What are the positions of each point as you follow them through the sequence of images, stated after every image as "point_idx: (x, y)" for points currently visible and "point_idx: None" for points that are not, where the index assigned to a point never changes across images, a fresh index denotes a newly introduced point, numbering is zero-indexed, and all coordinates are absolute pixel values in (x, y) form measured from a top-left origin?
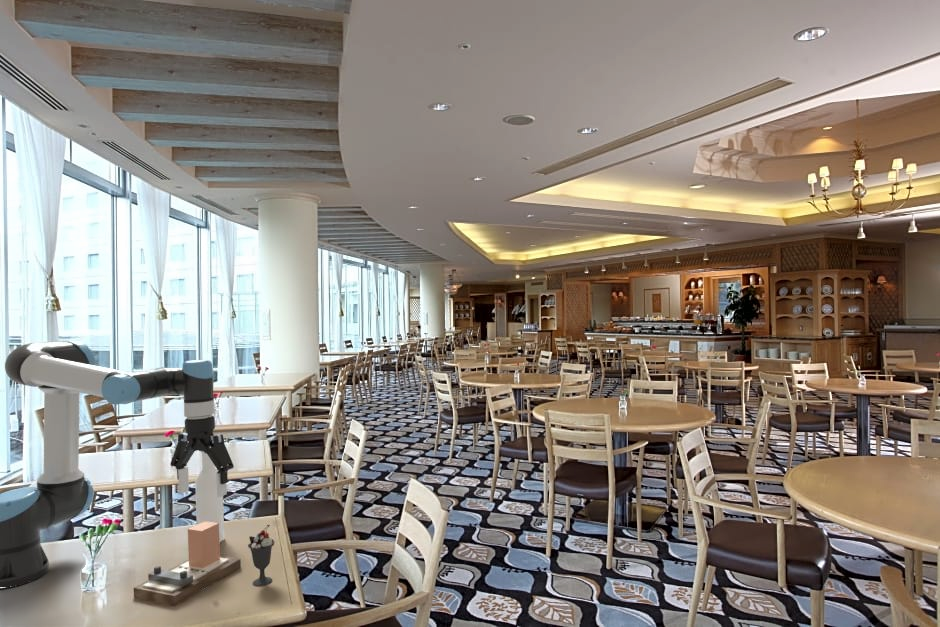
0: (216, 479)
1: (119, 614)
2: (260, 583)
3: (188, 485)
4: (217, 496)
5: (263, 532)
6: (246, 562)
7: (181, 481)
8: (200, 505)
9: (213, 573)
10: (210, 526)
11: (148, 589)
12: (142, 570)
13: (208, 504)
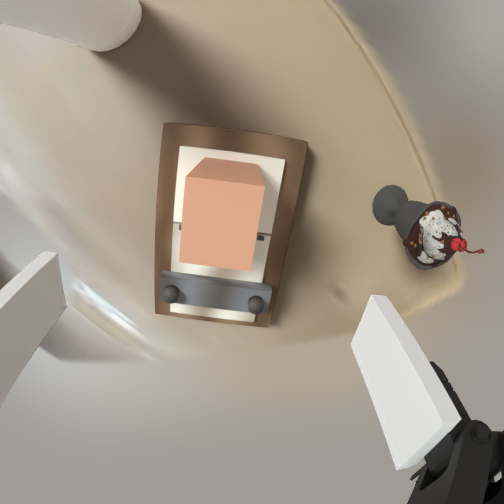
0: (384, 429)
1: (189, 346)
2: (393, 220)
3: (41, 271)
4: (354, 347)
5: (459, 248)
6: (299, 108)
7: (31, 346)
8: (40, 27)
9: (287, 231)
10: (253, 225)
11: (192, 315)
12: (71, 201)
13: (65, 11)
